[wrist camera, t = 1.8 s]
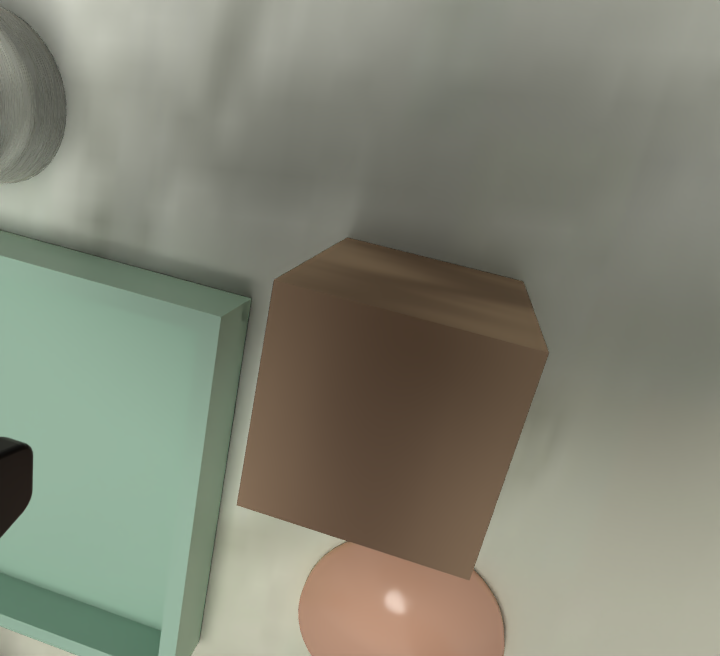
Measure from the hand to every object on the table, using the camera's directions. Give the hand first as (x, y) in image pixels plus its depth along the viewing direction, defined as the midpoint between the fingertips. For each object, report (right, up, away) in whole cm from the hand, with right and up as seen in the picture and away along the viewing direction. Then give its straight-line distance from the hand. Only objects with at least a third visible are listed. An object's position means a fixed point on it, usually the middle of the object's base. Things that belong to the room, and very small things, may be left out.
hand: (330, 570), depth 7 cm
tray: (-11, -1, +13) cm, 17 cm away
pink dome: (+2, -7, +12) cm, 14 cm away
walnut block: (+2, +3, +9) cm, 10 cm away
